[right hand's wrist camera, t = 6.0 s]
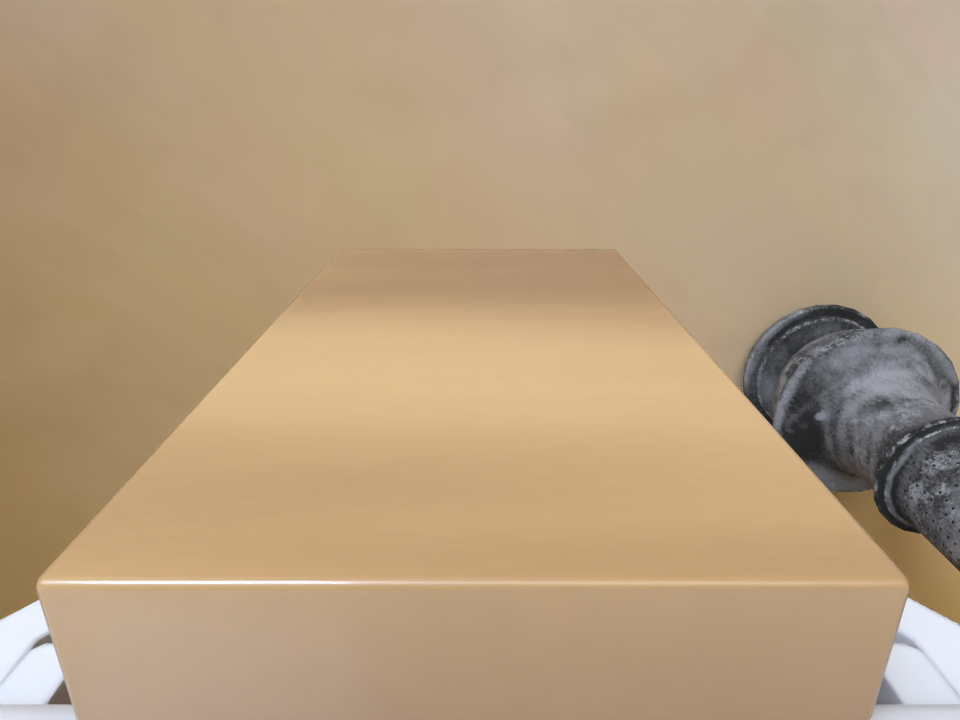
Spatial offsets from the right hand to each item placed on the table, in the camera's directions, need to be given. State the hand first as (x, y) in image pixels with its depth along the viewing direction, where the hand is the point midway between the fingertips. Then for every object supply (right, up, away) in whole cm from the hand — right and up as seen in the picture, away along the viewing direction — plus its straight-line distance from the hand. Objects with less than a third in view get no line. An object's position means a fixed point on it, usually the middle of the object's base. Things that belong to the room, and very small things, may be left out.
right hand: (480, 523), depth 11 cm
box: (0, -7, +8) cm, 11 cm away
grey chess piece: (+12, +2, +14) cm, 19 cm away
